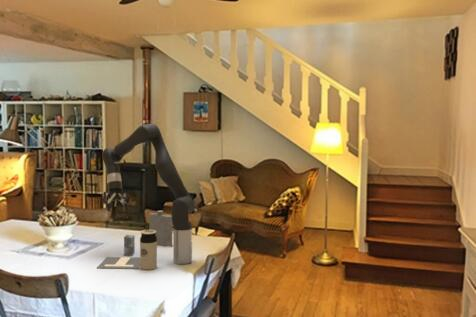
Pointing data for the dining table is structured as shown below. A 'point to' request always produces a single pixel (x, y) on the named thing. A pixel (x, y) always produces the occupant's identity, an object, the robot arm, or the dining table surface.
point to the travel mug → (148, 250)
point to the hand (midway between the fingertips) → (117, 211)
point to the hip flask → (161, 227)
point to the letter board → (120, 263)
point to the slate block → (129, 245)
